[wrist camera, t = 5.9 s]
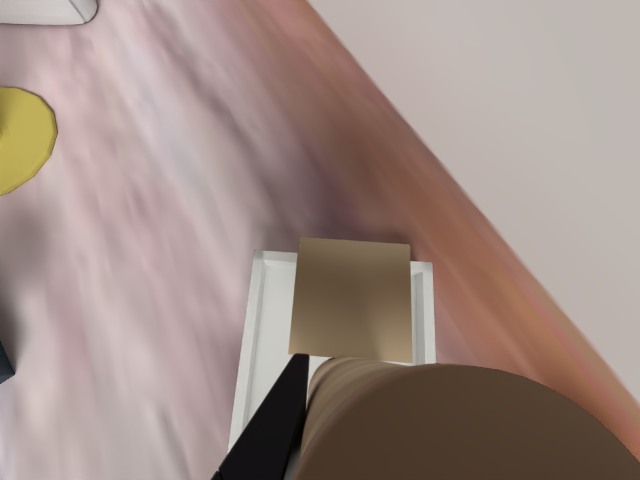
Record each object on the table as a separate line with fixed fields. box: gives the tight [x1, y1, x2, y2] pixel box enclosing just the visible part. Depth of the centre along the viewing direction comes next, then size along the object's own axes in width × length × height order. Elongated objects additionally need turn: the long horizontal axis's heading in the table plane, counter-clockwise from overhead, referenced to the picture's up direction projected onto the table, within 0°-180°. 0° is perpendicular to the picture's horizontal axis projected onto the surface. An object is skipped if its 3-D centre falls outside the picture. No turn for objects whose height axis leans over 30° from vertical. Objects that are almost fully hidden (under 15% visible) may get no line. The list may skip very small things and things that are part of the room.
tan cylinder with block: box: [288, 237, 640, 480], centre depth 9 cm, size 8×5×13 cm, turn 176°
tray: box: [227, 250, 436, 454], centre depth 20 cm, size 13×11×2 cm
